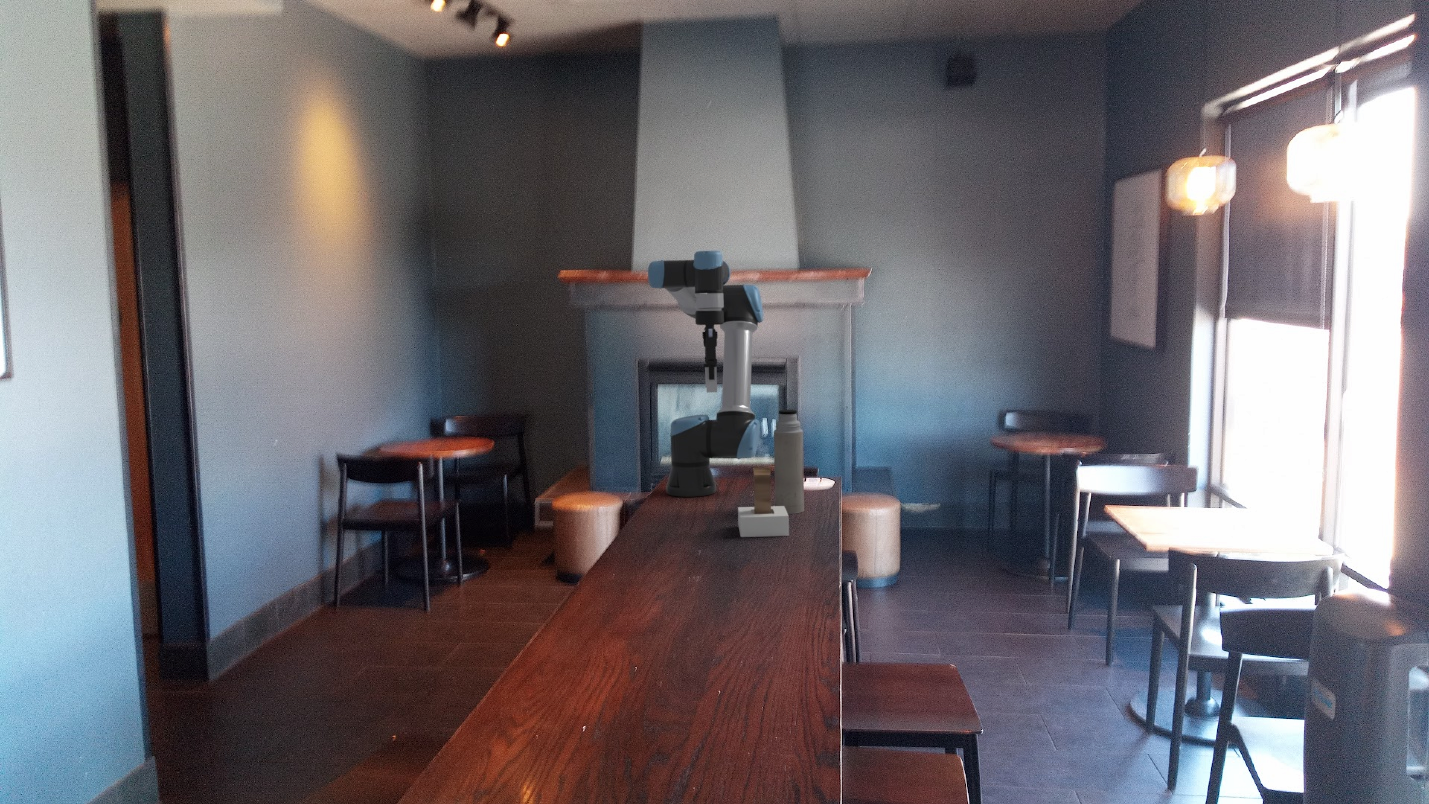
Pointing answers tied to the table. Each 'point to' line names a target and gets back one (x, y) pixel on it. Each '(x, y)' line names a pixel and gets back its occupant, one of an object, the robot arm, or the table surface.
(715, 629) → the table surface
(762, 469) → the bronze peg
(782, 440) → the thermos bottle
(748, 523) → the socket block
